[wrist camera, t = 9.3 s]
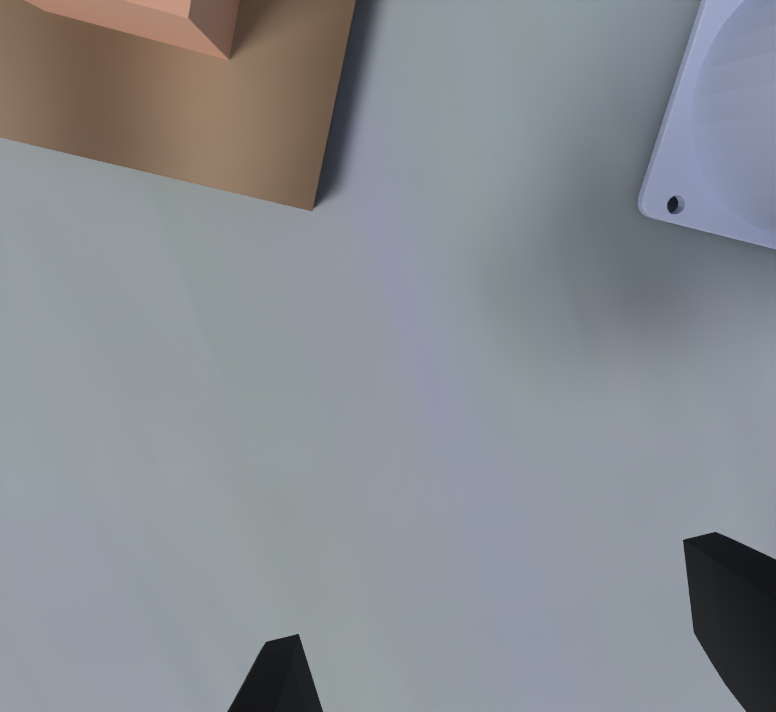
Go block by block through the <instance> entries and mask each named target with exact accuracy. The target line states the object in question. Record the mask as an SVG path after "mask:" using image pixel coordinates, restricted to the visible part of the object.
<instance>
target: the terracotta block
mask: <svg viewBox="0 0 776 712" xmlns="http://www.w3.org/2000/svg"><path fill="white" fill-rule="evenodd" d="M25 1H27V2H29V3H31V4H33V5H34V6H36V7H38V8H40V9H42V10H44V11H47V12H51V13H54V14H58V15H62V16H66V17H69V18H73V19H77V20H81V21H84V22H88V23H92V24H96V25H99V26H103V27H107V28H111V29H114V30H118V31H122V32H125V33H129V34H133V35H137V36H140V37H144V38H148V39H152V40H155V41H159V42H163V43H167V44H170V45H174V46H178V47H182V48H185V49H189V50H193V51H197V52H200V53H204V54H208V55H211V56H215V57H219V58H223V59H226V60H229V59H230V53H231V47H232V41H233V35H234V30H235V24H236V18H237V12H238V6H239V1H240V0H25Z"/></svg>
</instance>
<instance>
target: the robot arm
mask: <svg viewBox="0 0 776 712" xmlns="http://www.w3.org/2000/svg"><path fill="white" fill-rule="evenodd" d="M673 196H675V197H676V198H677V200H678V207H677V209H676V210H675V211H674V212H672V213H670V212H669V211H668V209H667V202H668V201H669V199H670V198H671V197H673ZM638 207H639V210H640V211H641V213H642V214H643V215H645V216H647V217H649V218H653V219H657V220H661V221H665V222H669V223H673V224H677V225H681V226H685V227H689V228H692V229H696V230H700V231H704V232H708V233H712V234H716V235H720V236H724V237H728V238H732V239H736V240H740V241H744V242H748V243H752V244H756V245H760V246H764V247H768V248H772V249H776V0H701V3H700V6H699V9H698V12H697V16H696V19H695V22H694V25H693V28H692V31H691V34H690V37H689V40H688V44H687V47H686V50H685V53H684V56H683V59H682V62H681V65H680V68H679V72H678V75H677V78H676V81H675V84H674V87H673V90H672V93H671V96H670V99H669V103H668V106H667V109H666V112H665V115H664V118H663V121H662V124H661V127H660V131H659V134H658V137H657V140H656V143H655V146H654V149H653V152H652V155H651V159H650V162H649V165H648V168H647V171H646V174H645V177H644V180H643V183H642V187H641V190H640V193H639V196H638ZM683 544H684V552H685V561H686V569H687V578H688V586H689V595H690V603H691V612H692V620H693V629H694V634H695V635H696V637H697V639H698V640H699V642H700V644H701V646H702V647H703V649H704V651H705V652H706V654H707V656H708V657H709V659H710V661H711V662H712V664H713V666H714V667H715V669H716V670H717V672H718V673H719V675H720V677H721V678H722V680H723V681H724V683H725V685H726V686H727V687H728V688H729V690H730V691H731V692H732V694H733V695H734V696H735V698H736V699H737V700H738V702H739V703H740V704H741V705H742V707H743V708H744V709H745V711H746V712H776V559H773V558H771V557H769V556H767V555H765V554H763V553H761V552H759V551H757V550H754V549H752V548H750V547H748V546H746V545H744V544H742V543H739V542H737V541H735V540H733V539H731V538H728V537H726V536H724V535H721V534H719V533H717V532H713V533H709V534H705V535H701V536H697V537H693V538H689V539H685V540H683ZM227 712H323V710H322V707H321V704H320V701H319V698H318V694H317V691H316V688H315V685H314V682H313V678H312V675H311V672H310V669H309V666H308V662H307V659H306V656H305V653H304V650H303V646H302V643H301V640H300V637H299V634H297V635H292V636H288V637H284V638H280V639H276V640H272V641H268V642H266V643H265V644H264V646H263V647H262V649H261V651H260V653H259V654H258V656H257V658H256V660H255V662H254V664H253V666H252V668H251V669H250V671H249V673H248V675H247V677H246V679H245V681H244V683H243V684H242V686H241V688H240V690H239V692H238V694H237V695H236V697H235V699H234V701H233V703H232V704H231V706H230V708H229V710H228V711H227Z"/></svg>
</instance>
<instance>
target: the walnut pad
mask: <svg viewBox="0 0 776 712" xmlns="http://www.w3.org/2000/svg"><path fill="white" fill-rule="evenodd" d="M355 5H356V0H240V1H239V6H238V12H237V18H236V24H235V30H234V35H233V41H232V47H231V53H230V59H229V60H226V59H223V58H219V57H215V56H211V55H208V54H204V53H200V52H197V51H193V50H189V49H185V48H182V47H178V46H174V45H170V44H167V43H163V42H159V41H155V40H152V39H148V38H144V37H140V36H137V35H133V34H129V33H125V32H122V31H118V30H114V29H111V28H107V27H103V26H99V25H96V24H92V23H88V22H84V21H81V20H77V19H73V18H69V17H66V16H62V15H58V14H54V13H51V12H47V11H44V10H42V9H40V8H38V7H36V6H34V5H33V4H31V3H29V2H27V1H25V0H0V137H1V138H5V139H10V140H14V141H18V142H22V143H26V144H31V145H35V146H39V147H43V148H48V149H52V150H56V151H60V152H64V153H69V154H73V155H77V156H81V157H86V158H90V159H94V160H98V161H102V162H107V163H111V164H115V165H119V166H124V167H128V168H132V169H136V170H140V171H145V172H149V173H153V174H157V175H162V176H166V177H170V178H174V179H178V180H183V181H187V182H191V183H195V184H200V185H204V186H208V187H212V188H216V189H221V190H225V191H229V192H233V193H238V194H242V195H246V196H250V197H254V198H259V199H263V200H267V201H271V202H276V203H280V204H284V205H288V206H292V207H297V208H301V209H305V210H309V211H313V208H314V203H315V198H316V194H317V189H318V184H319V179H320V174H321V169H322V165H323V160H324V155H325V150H326V145H327V140H328V136H329V131H330V126H331V121H332V116H333V111H334V106H335V102H336V97H337V92H338V87H339V82H340V77H341V73H342V68H343V63H344V58H345V53H346V48H347V44H348V39H349V34H350V29H351V24H352V19H353V15H354V10H355Z"/></svg>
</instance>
